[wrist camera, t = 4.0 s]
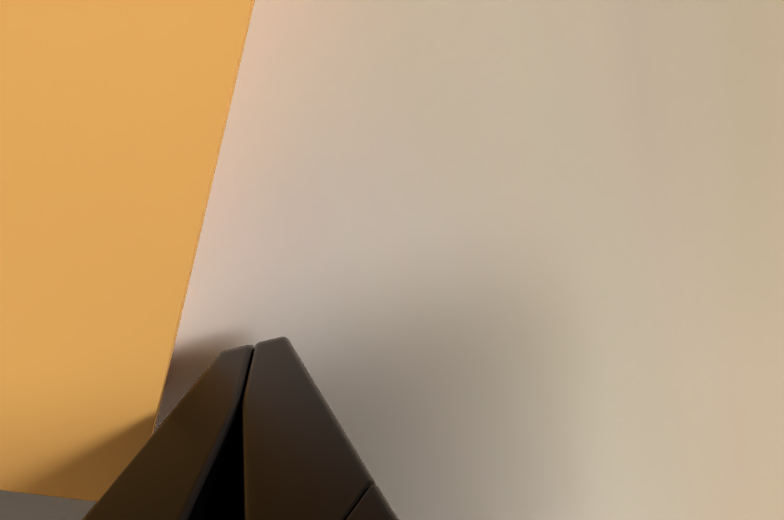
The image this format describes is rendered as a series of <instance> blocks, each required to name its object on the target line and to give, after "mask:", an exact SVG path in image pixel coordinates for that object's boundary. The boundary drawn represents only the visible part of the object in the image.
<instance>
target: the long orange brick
mask: <svg viewBox="0 0 784 520" xmlns="http://www.w3.org/2000/svg"><path fill="white" fill-rule="evenodd" d="M254 2H255V0H0V490H6V491H14V492H22V493H30V494H39V495H47V496H55V497H63V498H71V499H79V500H88V501H96V502H97V501H98V500H99V499H100V498H101V497H102V495H103V494H104V493H105V492H106V491H107V489H108V488H109V487H110V486H111V485H112V483H113V482H114V481H115V480H116V478H117V477H118V476H119V475H120V474H121V472H122V471H123V470H124V469H125V468H126V466H127V465H128V464H129V463H130V462H131V460H132V459H133V458H134V457H135V456H136V454H137V453H138V452H139V451H140V450H141V448H142V447H143V446H144V445H145V444H146V442H147V441H148V440H149V439H150V437H151V436H152V435H153V432H154V428H155V424H156V420H157V416H158V412H159V408H160V404H161V400H162V396H163V392H164V388H165V383H166V379H167V375H168V370H169V366H170V362H171V358H172V353H173V349H174V345H175V340H176V336H177V332H178V328H179V323H180V319H181V315H182V310H183V306H184V302H185V298H186V293H187V289H188V285H189V280H190V276H191V272H192V268H193V263H194V259H195V255H196V250H197V246H198V242H199V238H200V233H201V229H202V225H203V220H204V216H205V212H206V208H207V203H208V199H209V195H210V190H211V186H212V182H213V178H214V173H215V169H216V165H217V160H218V156H219V152H220V147H221V143H222V139H223V135H224V130H225V126H226V122H227V117H228V113H229V109H230V105H231V100H232V96H233V92H234V87H235V83H236V79H237V75H238V70H239V66H240V62H241V57H242V53H243V49H244V45H245V40H246V36H247V32H248V27H249V23H250V19H251V15H252V10H253V6H254Z"/></svg>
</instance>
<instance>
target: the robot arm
mask: <svg viewBox="0 0 784 520" xmlns="http://www.w3.org/2000/svg"><path fill="white" fill-rule="evenodd" d="M82 520H399V519H398V518H397V516H396V515H395V513H394V512H393V510H392V509H391V507H390V506H389V504H388V502H387V501H386V499H385V497H384V496H383V494H382V492H381V491H380V489H379V488H378V487H377V486H376V484H375V482H374V480H373V478H372V477H371V475H370V473H369V472H368V470H367V468H366V467H365V465H364V463H363V462H362V460H361V458H360V457H359V455H358V454H357V452H356V450H355V449H354V447H353V445H352V444H351V442H350V440H349V439H348V437H347V435H346V434H345V432H344V430H343V429H342V427H341V426H340V424H339V422H338V421H337V419H336V417H335V416H334V414H333V412H332V411H331V409H330V407H329V406H328V404H327V402H326V401H325V399H324V397H323V396H322V394H321V393H320V391H319V389H318V388H317V386H316V384H315V383H314V381H313V379H312V378H311V376H310V374H309V373H308V371H307V369H306V368H305V366H304V365H303V363H302V361H301V360H300V358H299V356H298V355H297V353H296V351H295V350H294V348H293V346H292V345H291V343H290V341H289V340H288V339H287V338H286V337H279V338H275V339H271V340H267V341H263V342H259V343H257V344H256V346H255V347H254V346H253V345H246V346H241V347H237V348H233V349H228V350H225V351H223V352H221V353H220V354H219V356H218V357H217V358H216V359H215V360H214V362H213V363H212V364H211V365H210V366H209V368H208V369H207V370H206V371H205V372H204V374H203V375H202V376H201V377H200V378H199V380H198V381H197V382H196V383H195V384H194V386H193V387H192V388H191V389H190V390H189V392H188V393H187V394H186V395H185V396H184V398H183V399H182V400H181V401H180V403H179V404H178V405H177V406H176V407H175V409H174V410H173V411H172V412H171V413H170V415H169V416H168V417H167V418H166V419H165V421H164V422H163V423H162V424H161V425H160V427H159V428H158V429H157V430H156V431H155V433H154V434H153V435H152V436H151V437H150V439H149V440H148V441H147V442H146V444H145V445H144V446H143V447H142V448H141V450H140V451H139V452H138V453H137V454H136V456H135V457H134V458H133V459H132V460H131V462H130V463H129V464H128V465H127V466H126V468H125V469H124V470H123V471H122V472H121V474H120V475H119V476H118V477H117V478H116V480H115V481H114V482H113V483H112V485H111V486H110V487H109V488H108V489H107V491H106V492H105V493H104V494H103V495H102V497H101V498H100V499H99V500H98V501H97V503H96V504H95V505H94V506H93V507H92V509H91V510H90V511H89V512H88V513H87V515H86V516H85V517H84V518H83V519H82Z"/></svg>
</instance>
